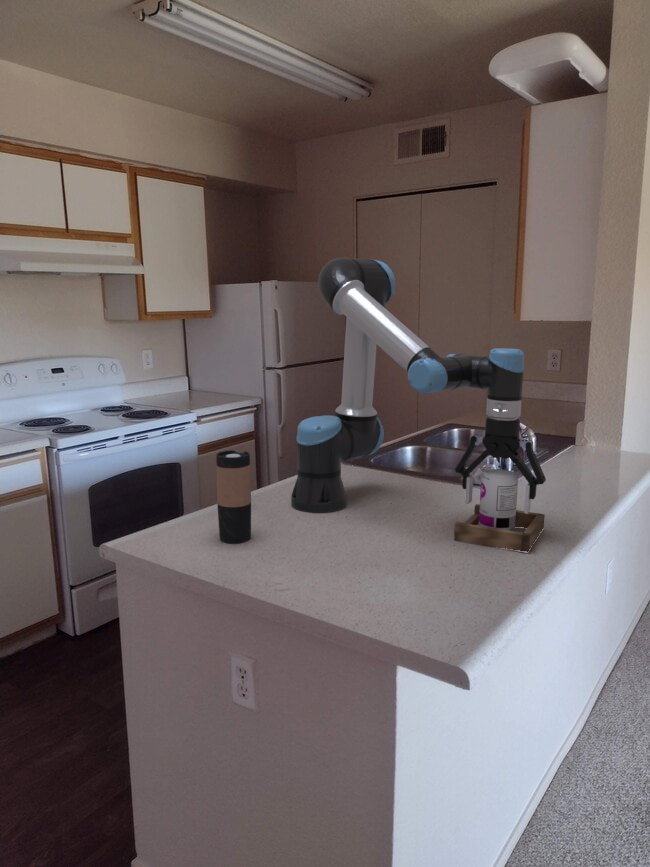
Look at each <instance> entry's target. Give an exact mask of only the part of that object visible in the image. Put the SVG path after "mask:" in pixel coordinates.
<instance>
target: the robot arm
mask: <svg viewBox="0 0 650 867" xmlns="http://www.w3.org/2000/svg"><path fill="white" fill-rule="evenodd" d="M317 280H318V281H317V288H318V292H319V294H320V297H321V298H322V300H323V302H325V303H326V305H327V306H328V307H329V308H330V309H331V310H332V311H333V312H334V313H336V314H337V315H344V316H345V317H346V318H345V319H346V320H345V321H346V322H345V323H346V324H345V335H344V337H345V338H344V352H343V353H344V354H343V355H344V356H343V371H342V385H341V386H342V387H341V389H342V390H341V402H340V404H339V406H338V407H336V408H335V413H334V415H327V414H325V415H320V416H318V415H316V416H311V417H308V418H305V419H303V420H302V421H299V424H298V426H297V435H296V447H297V448H296V452H297V453H296V454H297V459H296V460H297V468H296V469H297V478H296V480H295V483H294V487H293V489H292V493H291V498H290V501H291V502H290V505H291V507H292V508H294V509H296V510H299V511H301V512H302V511H303V512H309V513H330V512H336V511H340V510H343V509H345V507H347V506H348V494H347V492H346V491H347V490H346V489H345V486H344V482H343V479H342V471H341V470H342V463H344V462H347V461H352V460H356V459H363V458H366V457H368V456H371V455H373V454H375V453H376V452H377V451H378V450H379V449H380V448H381V446H382V444H383V442H384V437H385V432H384V426H383V425H382V421H381V420H380V418H378V411H377V410H376V409H375V408H374V407H373V400H374V388H375V386H374V384H375V375H376V374H375V371H376V358H377V346H378V347H379V348H380V349H381V350H382V351H383V352H385V353H386V354H387V355H388V356H389V357H390V358H391V359H392V360H394V362H395V363H397V364H398V365H399V366H400V367H401V368H402V369H403V370H404V371H406V372H407V380H408V382H409V384H410V387H411V388H412V389H413V390H414V391H415V392H418V393H420V394H437V393H440V392H444V391H445V392H446V391H451V390H452V391H454V390H458V389H466V388H467V389H468V388H471V389H479V390H480V389H481V390H486V391H487V393H486V394H487V396H486V412H485V414H486V415H487V416H488V417H486V418H485V431H484V436H480V435H479V434H474V435H472V436H471V437H470V440H469V445H468V447H467V449H466V451H465V452H464V453H463V455H462V456H461V458H460V460H459V462H458V464H457V466H456V467H455V469H454V471H455V473H457V474H460V475H461V476H462V486H461V487H462V489H463V490H465V505H470V504H471V503H472V501H473V489H474V488H473V487H474V474H471V473H472V472H473V471H474V470H475V469H477V467H478V466H479V465H481V463H482V462H484V461H485V460H486V459H487V458H488V457H489V456H490V457H492V458H494V459H495V458H496V459H497V458H498V459H499V458H500V459H503V460H507V459H510V460H511V462H512V463H514V465H515V466H516V467H517V469H518V470H519V471H520V473H521V475H522V476H523V477H524V478H525V480H526V481H527V483H526V485H525V493H524V494H525V495H524V496H525V497H524V508H523V509H524V510H523V511H524V513H525V514H528V512H531V502H532V500H535V498H536V496H537V488H538V485H543V484H544V483H545V482H546V481H547V478H546V477H545V474H544V471H543V469H542V467H541V464H540V462H539V459H538V457H537V455H536V452H535V449H534V448H535V446H534V441H533V440H531V439H530V440H528V441H521V440H520V428H521V420H520V419H519V418H520V417H521V416H522V414H521V413H522V398H523V396H522V392H523V383H524V373H525V353H524V351H523V350H522V349H518V348H502V347H501V348H497V347H496V348H492V349H491V350H490V352H489V355H488V356H481V355H474V354H473V355H470V354H465V353H453V354H452V353H450V354H448V355H446V356H441V355H439V354H438V353H437V352H436V351H434V350H433V349H432V348H431V347H430V346H429V345H428V344H426V342H424V341H423V340H422V339H421V338H419V336H417V334H415V333H414V332H413V331H412V330H411V329H410V328H408V327H407V326H406V325H405V324H403V323H402V322H401V321H400V320H399V319H398V318H397V317H396V316H395V315H393V313H391V312H390V311H389V310H388V309H386V304H388V303H389V302H391V299H392V298H393V297H394V295H395V293H396V279H395V275H394V272H393V271H392V269H391V268H390V267H389V265H388V264H386V263H385V262H383V261H381V260H376V259H371V258H351V257H336V258H333V259H331V260H330V261H328V262H327V263H326V264H324V266H323V267H322V268H321V270H320V272H319V275H318V278H317ZM481 444H483V446H484V448H485V450H484V451H483V452H482V453H481V454H480V455H479V456H478V457H477V458H476V459H475V460H473V462H472V463H471V464H470V465H469V466H468V467H467V468H465V467H466V465H467V463H468V461H469V460H470V458H471V457H472V455H473V453H474V452H475V449H477V446H479V445H481ZM519 448H522V450H523V451H524V452H525V453H526V456H527V459H528V461H529V462H528V463H529V464H530V466H531V469H532V471H533V472H532V471H531V469H530V468H529V467H528V465H527V464H526V463H525V461H524V460H523V458H522V457H521V455H520V453H519V452H518V449H519Z"/></svg>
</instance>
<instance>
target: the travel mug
mask: <svg viewBox="0 0 650 867" xmlns="http://www.w3.org/2000/svg"><path fill="white" fill-rule="evenodd" d="M215 458H216V459H215V460H216V497H217V498H216V499H217V502H216V503H217V518H218V530H219V531H218V533H219V540H220V541H221V543H222V542H223V543H226V544H235V545H236V544H242V543H245V542H248V541H250V540H251V536H252V535H251V534H252V490H251V489H252V488H251V487H252V486H251V484H252V483H251V480H252V479H251V460H250V459H251V454H250V453H249V451H247V450H246V451H245V450H244V451H243V452H237V451H236V450H233V449H232V450H224V451H219V452H217V453H216V457H215Z"/></svg>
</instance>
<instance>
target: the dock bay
mask: <svg viewBox="0 0 650 867" xmlns="http://www.w3.org/2000/svg"><path fill="white" fill-rule="evenodd" d="M473 510H474V511H473V512H474V513H473V514H472V515H471V516H470V517H469V518H468V519H467V520H466V521H465V522H460V521H456V522H455V523H454V538H453V539H454V541H456V542H461V543H467V544H472V545H473V544H474V545H478V546H483V547H488V546H490V547H489V548H493V547H498V548H497V549H499V548H505V549H506V548H507V549H513V550H520V551H527V552H528V551H529V549H530V548H531V546H532V545H533V543H534V542H535V540H536V539H537V537H538V536H539V534H540V532H541V531H542V529H543V528H544V527H545V515H546V514H545V513H544V514H543V513H539V512H538V513H537V512H531V511H529V512H528V514H525V513H524V510H517V509H516V521H515V527H524V528H527V529H526V530H525V529H524V532H520V531H516V530H515V531H509V530H503V529H497V528H491V527H485V526H479V510H480V503H479V504H478V503H476V504H475V505H474V509H473ZM539 537H540V536H539ZM537 540H538V539H537ZM535 543H536V542H535ZM533 546H534V545H533ZM531 549H532V548H531ZM529 552H530V551H529Z"/></svg>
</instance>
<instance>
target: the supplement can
mask: <svg viewBox="0 0 650 867" xmlns="http://www.w3.org/2000/svg"><path fill="white" fill-rule="evenodd" d="M518 483H519V479H518V477H517V475H516V473H515V471H512V470H509V469H502V468H501V469H499V468H496V469H495V468H491V469H487V470H484V473H483V474H482V476H481V477H480V491H479V492H480V494H479V505H480V510H479V523H478V525H479V526H485V527H491V528H497V529H503V530H509V531H515V532H516V528H515V521H516V510H517V502H518V485H519V484H518Z"/></svg>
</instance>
